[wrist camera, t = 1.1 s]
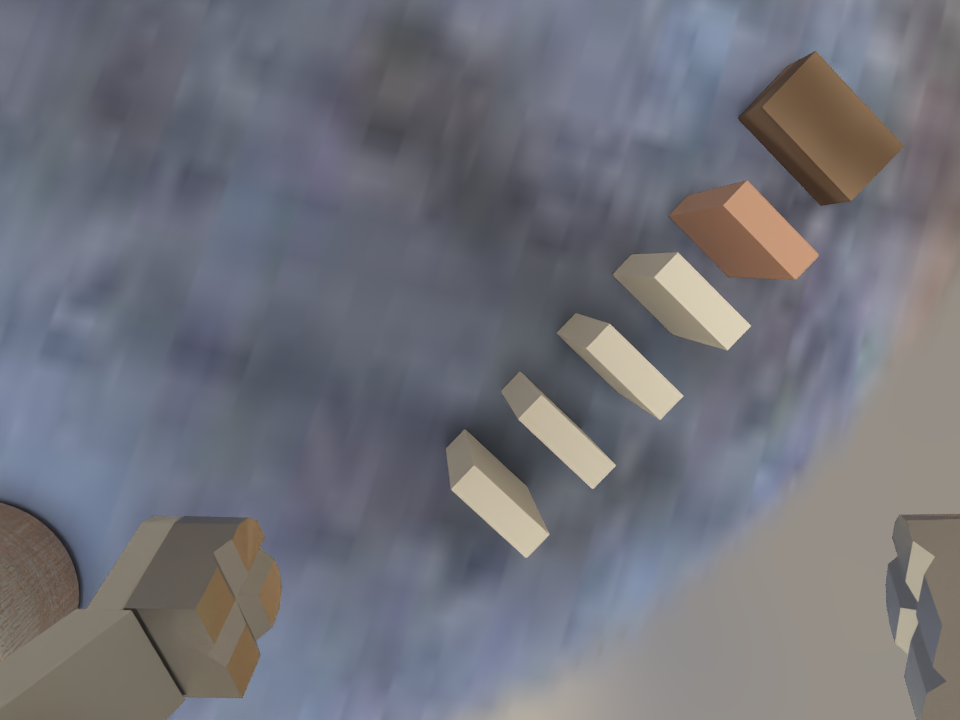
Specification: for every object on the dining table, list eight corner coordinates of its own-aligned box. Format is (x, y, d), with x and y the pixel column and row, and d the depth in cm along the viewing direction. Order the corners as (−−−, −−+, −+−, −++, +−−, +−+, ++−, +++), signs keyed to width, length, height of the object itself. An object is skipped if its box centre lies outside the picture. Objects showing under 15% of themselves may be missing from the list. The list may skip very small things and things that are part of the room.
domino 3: (728, 276, 50) (795, 279, 41) (668, 216, 49) (723, 205, 40) (747, 256, 50) (819, 255, 41) (687, 195, 49) (747, 180, 40)
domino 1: (507, 506, 50) (526, 558, 41) (445, 448, 50) (451, 489, 41) (526, 486, 50) (549, 534, 41) (464, 428, 50) (474, 465, 41)
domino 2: (562, 449, 50) (592, 489, 41) (500, 391, 49) (518, 419, 40) (581, 429, 50) (616, 465, 41) (520, 370, 49) (541, 394, 40)
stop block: (821, 205, 49) (851, 201, 46) (737, 118, 49) (761, 107, 45) (870, 154, 49) (904, 146, 46) (787, 66, 48) (815, 50, 45)
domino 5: (617, 392, 50) (660, 420, 41) (556, 333, 49) (586, 348, 40) (636, 372, 50) (683, 395, 41) (575, 312, 49) (609, 323, 40)
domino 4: (672, 334, 50) (727, 350, 41) (612, 274, 49) (654, 277, 40) (692, 314, 50) (751, 326, 41) (631, 254, 49) (678, 252, 40)
